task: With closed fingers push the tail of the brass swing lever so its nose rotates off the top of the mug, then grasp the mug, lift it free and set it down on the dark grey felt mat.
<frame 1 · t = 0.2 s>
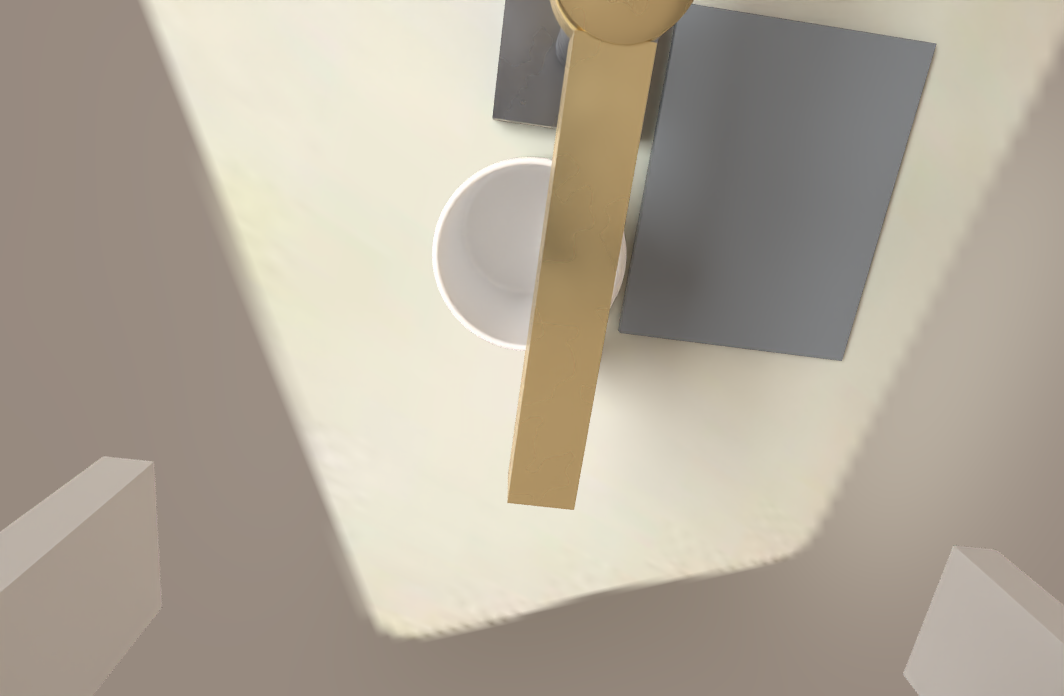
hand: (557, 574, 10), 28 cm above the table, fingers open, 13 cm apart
lever post: (576, 52, 33), on the table
mug: (533, 261, 37), on the table
felt mat: (764, 196, 36), on the table
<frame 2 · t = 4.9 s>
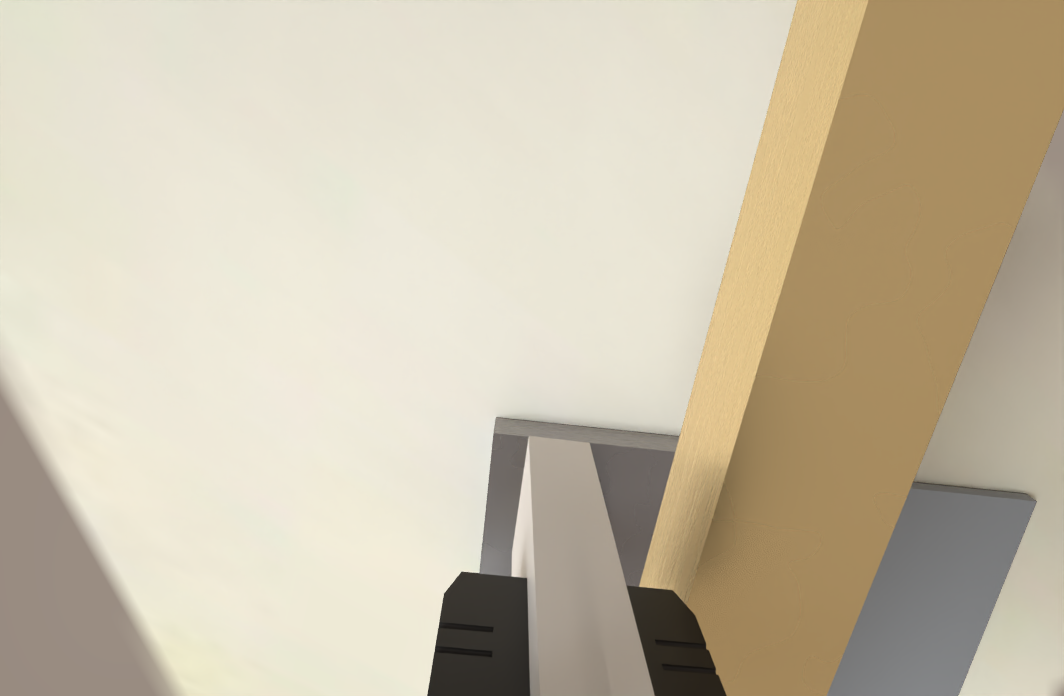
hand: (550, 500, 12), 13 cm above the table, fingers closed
lever post: (578, 510, 27), on the table
felt mat: (814, 647, 29), on the table
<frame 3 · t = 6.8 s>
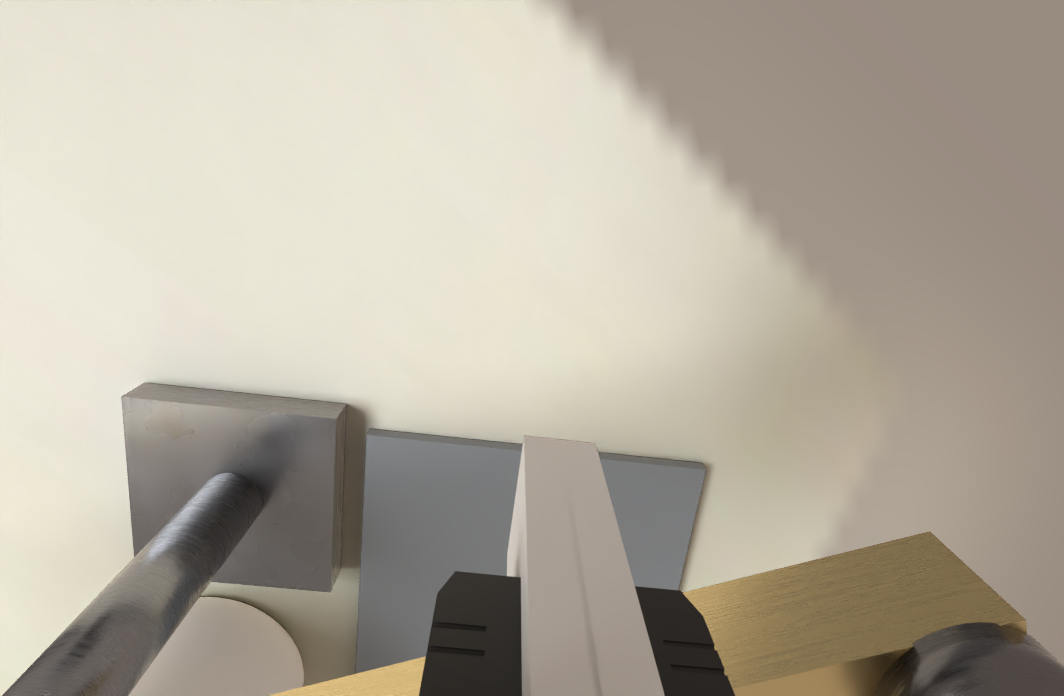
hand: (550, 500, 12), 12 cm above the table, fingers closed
lever post: (247, 481, 26), on the table
mug: (238, 689, 30), on the table
felt mat: (514, 621, 28), on the table
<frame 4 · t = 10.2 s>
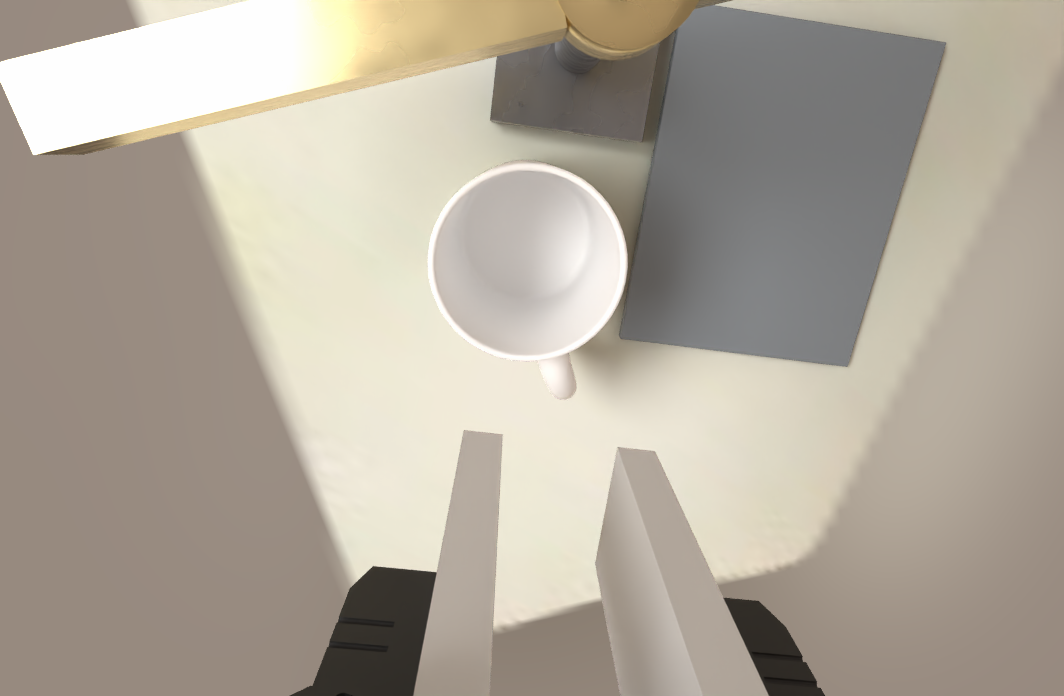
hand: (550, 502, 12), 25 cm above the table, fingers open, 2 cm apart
lever post: (575, 52, 32), on the table
mug: (532, 266, 36), on the table
felt mat: (768, 199, 35), on the table
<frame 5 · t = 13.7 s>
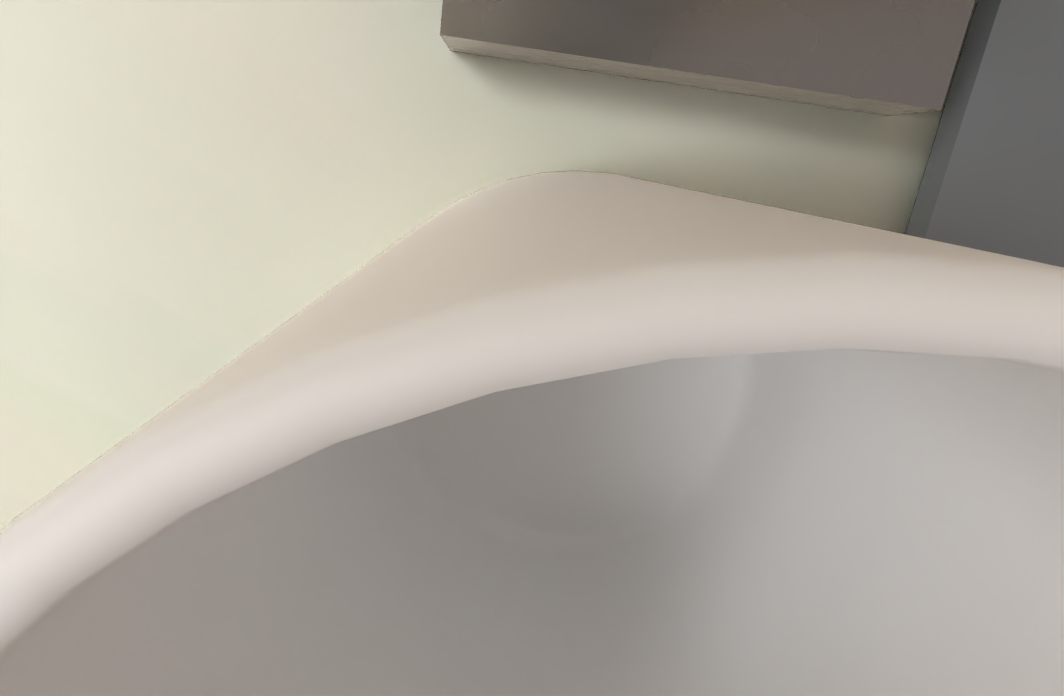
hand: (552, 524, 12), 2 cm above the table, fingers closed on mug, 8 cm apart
mug: (583, 452, 13), on the table, touching gripper
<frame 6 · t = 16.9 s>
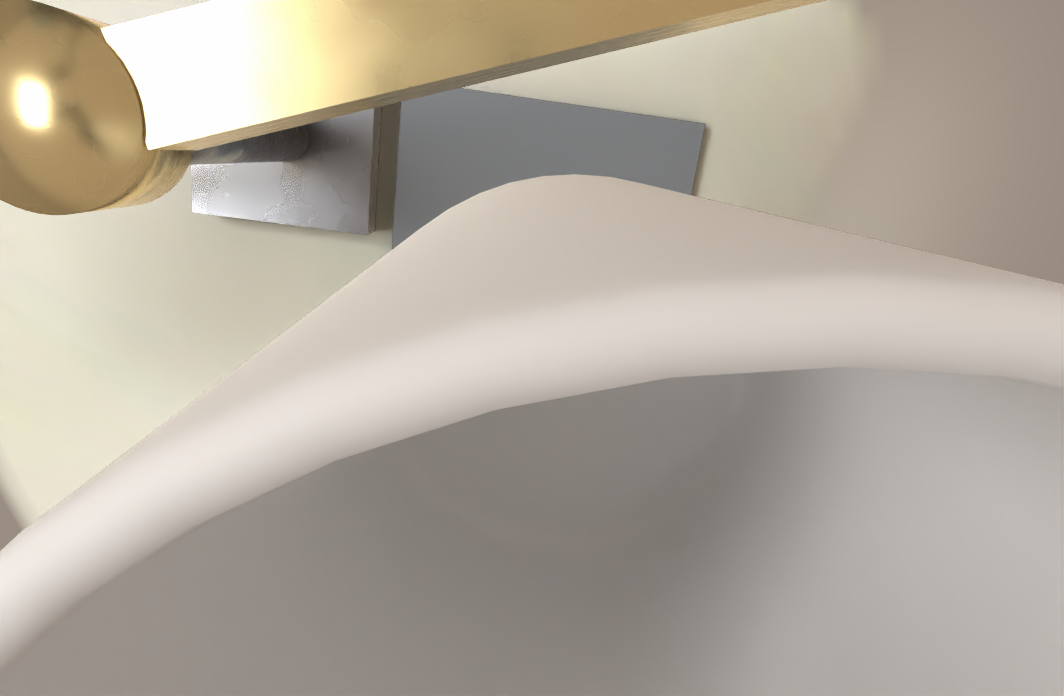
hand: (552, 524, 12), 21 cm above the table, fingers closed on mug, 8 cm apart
lever post: (293, 134, 29), on the table
mug: (583, 454, 13), point 19 cm above the table, touching gripper
felt mat: (530, 291, 31), on the table
lever: (110, 102, 14), point 15 cm above the table, hinge at -69.9°
when the fingers open (4 cm above the table, at t = 20.4 s): mug drops 1 cm, resting on felt mat.
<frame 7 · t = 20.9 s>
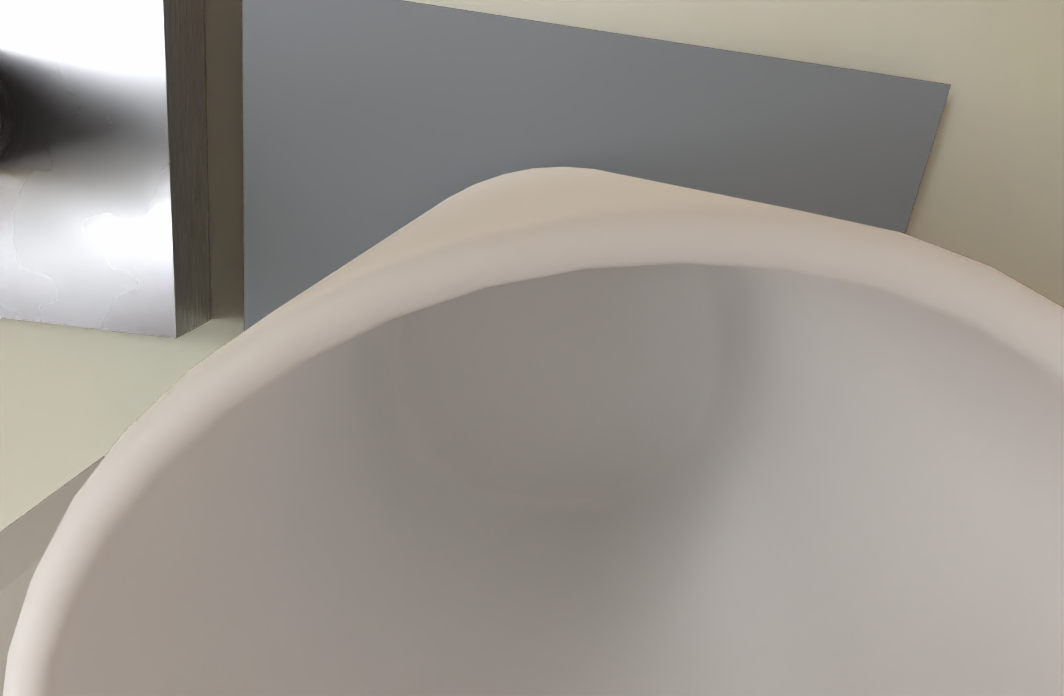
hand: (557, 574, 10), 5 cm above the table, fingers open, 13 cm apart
lever post: (7, 109, 13), on the table
mug: (571, 424, 15), resting on felt mat
felt mat: (544, 437, 15), on the table
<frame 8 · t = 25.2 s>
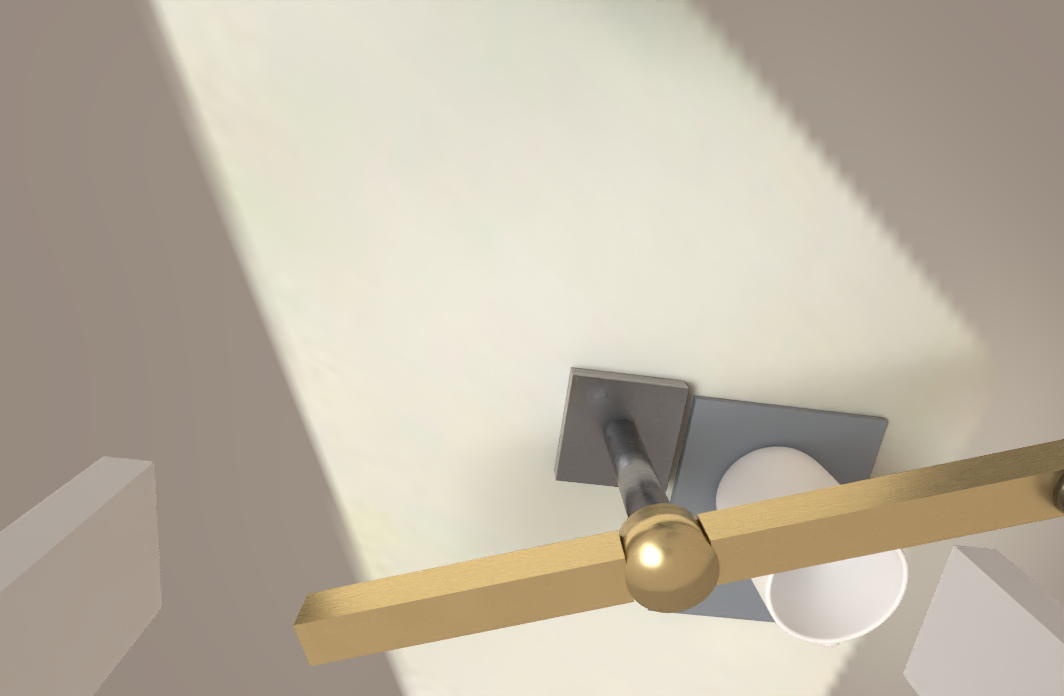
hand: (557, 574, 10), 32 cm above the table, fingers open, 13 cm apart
lever post: (617, 426, 44), on the table
mug: (770, 512, 46), resting on felt mat
felt mat: (759, 515, 47), on the table
lever: (692, 557, 29), point 15 cm above the table, hinge at -69.9°
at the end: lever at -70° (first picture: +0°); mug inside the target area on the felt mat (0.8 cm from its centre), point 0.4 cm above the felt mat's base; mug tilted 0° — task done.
